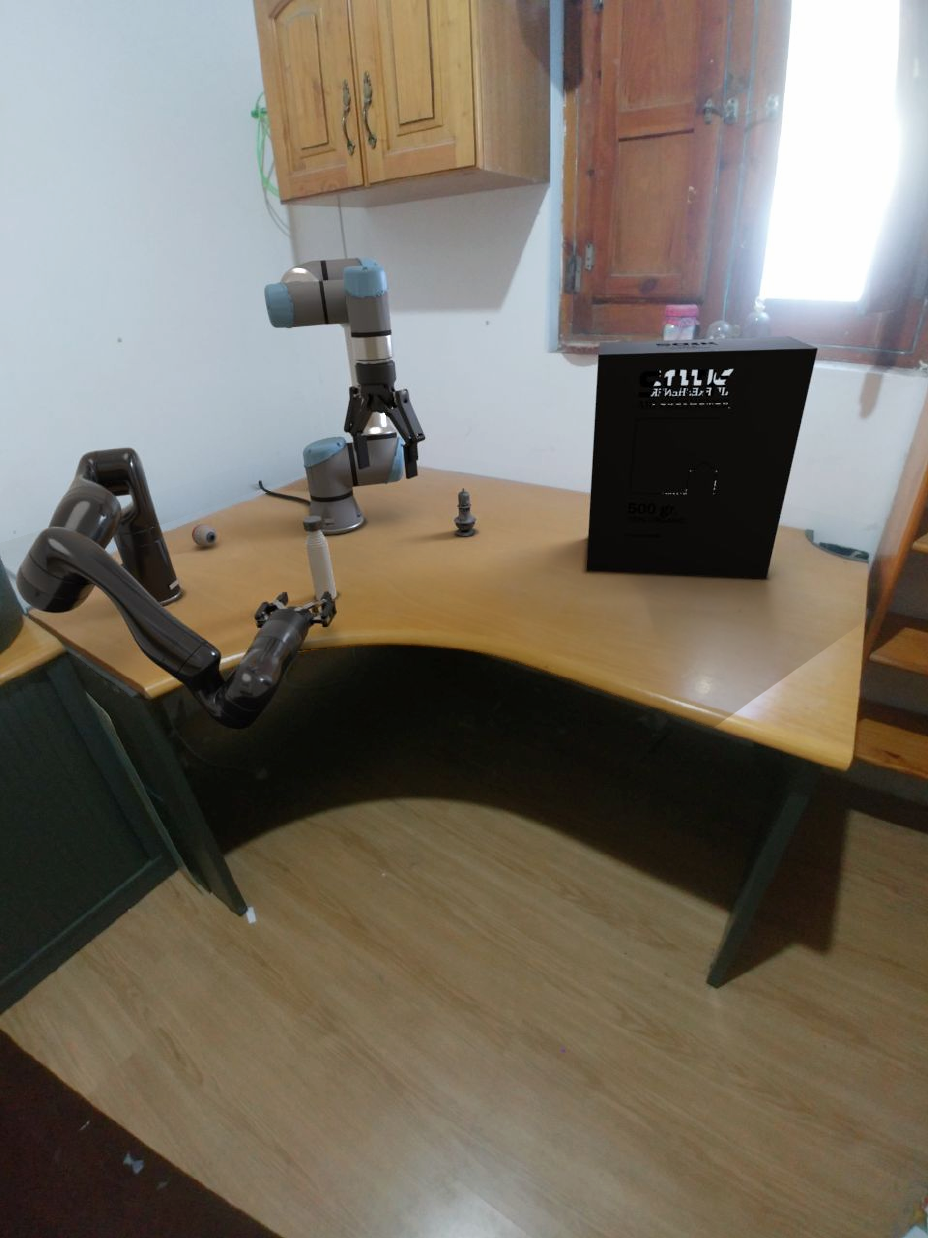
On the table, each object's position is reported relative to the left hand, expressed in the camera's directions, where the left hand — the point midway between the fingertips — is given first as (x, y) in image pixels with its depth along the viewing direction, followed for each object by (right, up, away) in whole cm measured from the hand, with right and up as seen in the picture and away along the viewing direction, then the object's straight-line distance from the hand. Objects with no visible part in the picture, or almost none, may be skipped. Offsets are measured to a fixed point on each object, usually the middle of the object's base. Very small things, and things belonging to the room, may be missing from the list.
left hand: (307, 595), depth 120 cm
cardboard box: (+79, +10, +21) cm, 83 cm away
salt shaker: (+32, +18, +40) cm, 54 cm away
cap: (0, +16, +3) cm, 16 cm away
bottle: (+1, 0, +12) cm, 12 cm away
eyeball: (-37, +15, +41) cm, 57 cm away
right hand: (+15, +25, +4) cm, 30 cm away
